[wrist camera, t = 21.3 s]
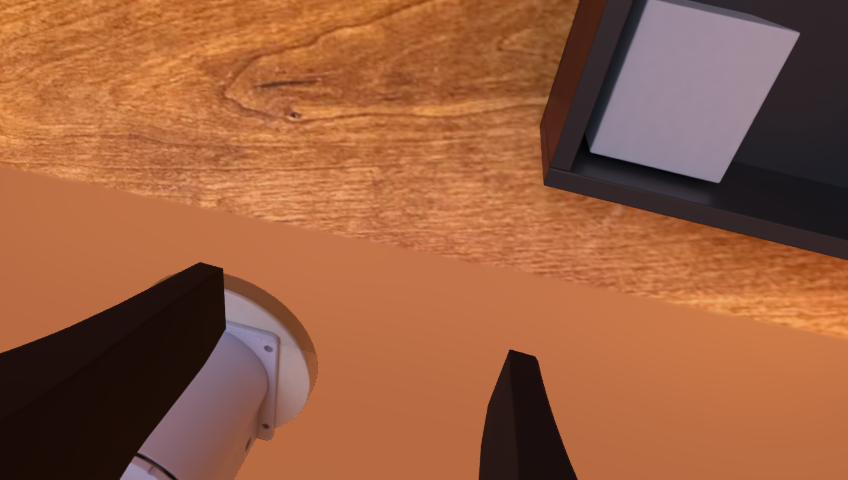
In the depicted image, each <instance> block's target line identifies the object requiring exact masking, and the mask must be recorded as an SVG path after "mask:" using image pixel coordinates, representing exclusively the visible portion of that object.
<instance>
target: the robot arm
mask: <svg viewBox="0 0 848 480" xmlns="http://www.w3.org/2000/svg"><path fill="white" fill-rule="evenodd" d="M269 346H271V347H272V348H271V347H269ZM278 358H279V338H278V336H277V335H276V334H274V333H272V332H268V331H265V330H261V329H257V328H253V327H250V326H246V325H242V324H238V323H235V322H231V321H227V320H226V319H225V298H224V277H223V268H219V267H216V266H212V265H208V264H205V263H201V262H200V263H197V264H195V265H194V266H191V267H189V268H187V269H185V270H183V271H182V272H179V273H178V274H176V275H174V276H172V277H170V278H168V279H166V280H164V281H162V282H161V283H159V284H157V285H155V286H153V287H151V288H149V289H147V290H145V291H143V292H141V293H139V294H137V295H135V296H133V297H132V298H129V299H128V300H126V301H124V302H122V303H120V304H118V305H116V306H114V307H112V308H109V309H107V310H105V311H103V312H101V313H99V314H96V315H94V316H92V317H90V318H88V319H85V320H83V321H81V322H79V323H77V324H75V325H72V326H70V327H68V328H65V329H63V330H61V331H58V332H56V333H54V334H51V335H49V336H46V337H43V338H41V339H38V340H36V341H33V342H30V343H28V344H25V345H22V346H20V347H17V348H14V349H11V350H9V351H6V352H3V353H0V480H234V479H235V477H236V475H237V473H238V471H239V469H240V468H241V465H242V464H243V462H244V460H245V458H246V456H247V455H248V453H249V451H250V449H251V447H252V445H253V443H254V441H255V440H256V438H259V439H262V440H266V441H268V440H271V439H272V438H273V436H274V430H275V412H276V394H277V376H278ZM479 480H578V479H577V477H576V474H575V472H574V470H573V467H572V465H571V463H570V460H569V458H568V455H567V453H566V450H565V447H564V445H563V442H562V439H561V436H560V434H559V431H558V429H557V425H556V423H555V420H554V417H553V414H552V411H551V407H550V404H549V401H548V398H547V394H546V391H545V387H544V384H543V380H542V376H541V372H540V368H539V363H538V361H537V359H536V357H535V356H532V355H528V354H525V353H521V352H517V351H514V350H509V353H508V355H507V358H506V360H505V363H504V365H503V368H502V371H501V373H500V376H499V378H498V381H497V383H496V386H495V389H494V391H493V394H492V396H491V399H490V401H489V404H488V409H487V414H486V420H485V425H484V431H483V437H482V443H481V454H480V469H479Z"/></svg>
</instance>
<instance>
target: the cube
mask: <svg viewBox="0 0 848 480" xmlns="http://www.w3.org/2000/svg"><path fill="white" fill-rule="evenodd" d="M799 35H800V33H799V32H797V31H795V30H792V29H789V28H786V27H784V26H781V25H778V24H775V23H773V22H770V21H767V20H764V19H762V18H759V17H756V16H753V15H751V14H747V13H742V12H738V11H733V10H729V9H724V8H720V7H716V6H711V5H707V4H702V3H698V2H694V1H689V0H633V2H632V5H631V7H630V10H629V13H628V15H627V18H626V21H625V24H624V26H623V29H622V32H621V34H620V37H619V40H618V43H617V45H616V48H615V51H614V53H613V56H612V59H611V61H610V64H609V67H608V70H607V72H606V75H605V78H604V80H603V83H602V86H601V89H600V91H599V94H598V97H597V99H596V102H595V105H594V108H593V110H592V113H591V116H590V118H589V121H588V124H587V126H586V129H585V132H584V133H585V136H586V140H587V143H588V147H589V150H590V152H591V153H595V154H599V155H603V156H607V157H611V158H615V159H620V160H624V161H628V162H632V163H636V164H640V165H644V166H648V167H653V168H657V169H661V170H665V171H669V172H673V173H677V174H681V175H686V176H690V177H694V178H698V179H702V180H706V181H710V182H714V183H719V182H720V181H721V179H722V177H723V175H724V174H725V172H726V170H727V168H728V166H729V164H730V163H731V161H732V159H733V157H734V155H735V153H736V152H737V150H738V148H739V146H740V144H741V142H742V140H743V139H744V137H745V135H746V133H747V131H748V129H749V128H750V126H751V124H752V122H753V120H754V118H755V117H756V115H757V113H758V111H759V109H760V107H761V105H762V104H763V102H764V100H765V98H766V96H767V94H768V93H769V91H770V89H771V87H772V85H773V83H774V82H775V80H776V78H777V76H778V74H779V72H780V70H781V69H782V67H783V65H784V63H785V61H786V59H787V58H788V56H789V54H790V52H791V50H792V48H793V47H794V45H795V43H796V41H797V39H798V37H799Z"/></svg>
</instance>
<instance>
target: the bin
mask: <svg viewBox="0 0 848 480" xmlns="http://www.w3.org/2000/svg"><path fill="white" fill-rule="evenodd" d="M689 1H694V2H698V3H702V4H707V5H711V6H716V7H720V8H724V9H729V10H733V11H738V12H742V13H747V14H751V15H753V16H756V17H759V18H762V19H764V20H767V21H770V22H773V23H775V24H778V25H781V26H784V27H786V28H789V29H792V30H795V31H797V32H799V33H800V35H799V37H798V39H797V41H796V43H795V45H794V47H793V48H792V50H791V52H790V54H789V56H788V58H787V59H786V61H785V63H784V65H783V67H782V69H781V70H780V72H779V74H778V76H777V78H776V80H775V82H774V83H773V85H772V87H771V89H770V91H769V93H768V94H767V96H766V98H765V100H764V102H763V104H762V105H761V107H760V109H759V111H758V113H757V115H756V117H755V118H754V120H753V122H752V124H751V126H750V128H749V129H748V131H747V133H746V135H745V137H744V139H743V140H742V142H741V144H740V146H739V148H738V150H737V152H736V153H735V155H734V157H733V159H732V161H731V163H730V164H729V166H728V168H727V170H726V172H725V174H724V175H723V177H722V179H721V181H720V182H719V183H714V182H710V181H706V180H702V179H698V178H694V177H690V176H686V175H681V174H677V173H673V172H669V171H665V170H661V169H657V168H653V167H648V166H644V165H640V164H636V163H632V162H628V161H624V160H620V159H615V158H611V157H607V156H603V155H599V154H595V153H591V152H590V150H589V147H588V143H587V140H586V136H585V133H584V132H585V129H586V126H587V124H588V121H589V118H590V116H591V113H592V110H593V108H594V105H595V102H596V99H597V97H598V94H599V91H600V89H601V86H602V83H603V80H604V78H605V75H606V72H607V70H608V67H609V64H610V61H611V59H612V56H613V53H614V51H615V48H616V45H617V43H618V40H619V37H620V34H621V32H622V29H623V26H624V24H625V21H626V18H627V15H628V13H629V10H630V7H631V5H632V2H633V0H580V2H579V5H578V8H577V11H576V14H575V17H574V20H573V24H572V27H571V30H570V33H569V36H568V39H567V42H566V45H565V49H564V52H563V55H562V58H561V61H560V64H559V67H558V70H557V74H556V77H555V80H554V83H553V86H552V89H551V92H550V96H549V99H548V102H547V105H546V108H545V111H544V114H543V117H542V121H541V124H540V135H541V150H542V166H543V181H544V185H545V186H549V187H553V188H557V189H561V190H565V191H569V192H573V193H577V194H581V195H585V196H589V197H594V198H598V199H602V200H606V201H610V202H614V203H618V204H622V205H626V206H630V207H634V208H638V209H642V210H646V211H650V212H654V213H658V214H662V215H667V216H671V217H675V218H679V219H683V220H687V221H691V222H695V223H699V224H703V225H707V226H711V227H715V228H719V229H723V230H727V231H731V232H735V233H739V234H744V235H748V236H752V237H756V238H760V239H764V240H768V241H772V242H776V243H780V244H784V245H788V246H792V247H796V248H800V249H804V250H808V251H812V252H817V253H821V254H825V255H829V256H833V257H837V258H841V259H845V260H848V0H689Z"/></svg>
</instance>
